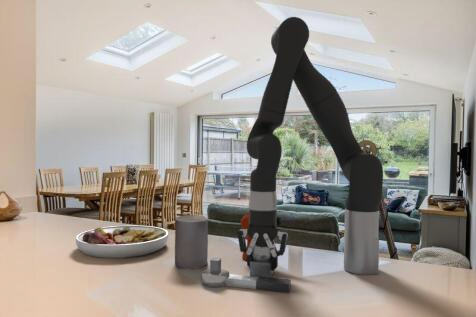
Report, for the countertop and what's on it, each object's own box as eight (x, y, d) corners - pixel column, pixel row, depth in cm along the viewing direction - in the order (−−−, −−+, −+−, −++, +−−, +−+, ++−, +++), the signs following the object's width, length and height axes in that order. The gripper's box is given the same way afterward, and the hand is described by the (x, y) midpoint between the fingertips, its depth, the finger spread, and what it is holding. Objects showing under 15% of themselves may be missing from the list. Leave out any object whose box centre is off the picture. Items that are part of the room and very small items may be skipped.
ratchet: (291, 285, 98) (292, 262, 98) (287, 295, 91) (287, 270, 91) (207, 276, 104) (207, 254, 104) (197, 285, 97) (197, 261, 97)
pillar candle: (174, 259, 119) (174, 211, 119) (205, 258, 121) (206, 210, 121) (175, 270, 110) (175, 217, 109) (210, 268, 112) (210, 216, 111)
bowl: (120, 235, 153) (120, 215, 153) (185, 244, 140) (185, 222, 140) (55, 253, 126) (55, 229, 126) (127, 266, 113) (127, 239, 113)
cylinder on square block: (274, 272, 109) (274, 243, 108) (270, 278, 103) (270, 248, 103) (254, 270, 110) (254, 241, 110) (249, 276, 105) (250, 246, 105)
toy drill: (297, 264, 111) (291, 211, 112) (239, 262, 120) (234, 213, 121) (303, 260, 115) (297, 209, 116) (247, 258, 125) (242, 211, 125)
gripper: (291, 206, 108) (290, 267, 108) (241, 204, 112) (240, 262, 112) (287, 210, 101) (286, 275, 101) (233, 208, 105) (232, 270, 105)
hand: (262, 268), depth 107 cm, fingers closed on cylinder on square block, 5 cm apart
